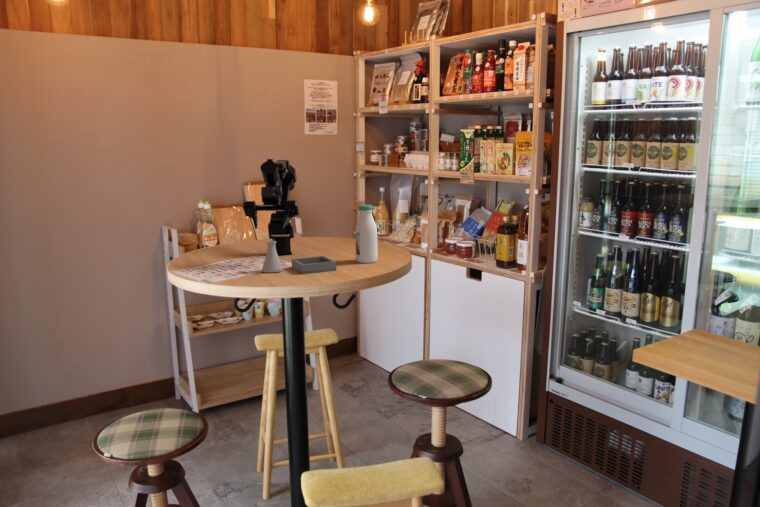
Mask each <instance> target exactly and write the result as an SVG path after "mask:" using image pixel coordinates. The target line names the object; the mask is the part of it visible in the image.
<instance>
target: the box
mask: <svg viewBox="0 0 760 507" xmlns="http://www.w3.org/2000/svg"><path fill="white" fill-rule="evenodd" d="M290 260H291V268H292V269H293V270H295V271H297V272H298V273H301V275H306V274H307V275H309V274H314V273H315V274H317V273H325V272H333V271H337V261H336V260H333V259H331V258H329V257H327V256H325V255H320V256H310V257H299V258H292V259H290Z"/></svg>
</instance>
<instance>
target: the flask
mask: <svg viewBox="0 0 760 507" xmlns="http://www.w3.org/2000/svg"><path fill="white" fill-rule="evenodd" d="M265 243H266V244H267V249H266V255H265V259H264V262H263V265H262V268H261V272H263V273H273V274H274V273H279V272H280V273H281V272H282V271H284V267H283V264H282V263H281V260H280V258H279V255H277V252H276V246H275V243H276V241H272V240H267V241H266V242H265Z"/></svg>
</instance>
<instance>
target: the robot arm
mask: <svg viewBox="0 0 760 507" xmlns="http://www.w3.org/2000/svg"><path fill="white" fill-rule="evenodd" d="M260 171H261V172H260V173H261V176H262V178H263V182H264V183H265V184H264V185H265V186H262V187H260V197H261V203H263V204H257V203H256V201H255V200H245V201H243V203H242V209H243V212H244V216H245V217H248V218H250V219H252V221H253V225H254V229H255V230H257V229H258V218H259V217H258V212H262V211H263V212H264V211H266V212H272V213H271V214H270V218H269V222H268V223H267V232H268V233H267V234H268V239H269V240H271V241H276V243H275V246H276V252H277V255H278V256H287V255H293V252H292V251H291V249H292V247H291V245H292V244H291V239H295V233H294V226H293V225H292V222H291V219H292V218H295V217H297V216H299V215H300V208H299V203H298V201H297V200H296V199H293V200H292V199H291V200H290V194H291V191H292V190H294V189H295V187H296V183H297V181H298V180H297V179H298V178H297V172H296V168H294V167H293V165H291V164H290V160H288V159H277V160H276V161H274V160H273V158H267V159H266V161H265V162H262V164H261V165H260Z"/></svg>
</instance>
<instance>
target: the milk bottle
mask: <svg viewBox="0 0 760 507" xmlns="http://www.w3.org/2000/svg"><path fill="white" fill-rule="evenodd" d="M358 208H359V210H358V211H359V217H358V220H357V223H356V225H355V261H356V262H357V263H360V264H372V263H376V262H378V260H379V259H378V258H379V256H378V254H379V253H378V248H379V247H378V246H379V245H378V244H379V243H378V228H377V223H376V222H375V219H374V217H373V205H372V204H360V205H359V207H358Z"/></svg>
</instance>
